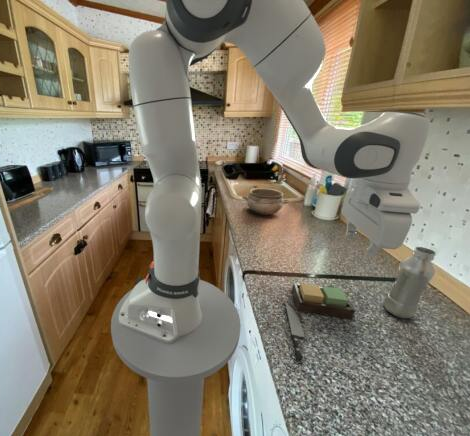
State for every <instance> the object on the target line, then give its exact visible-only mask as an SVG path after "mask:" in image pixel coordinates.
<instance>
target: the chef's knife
mask: <svg viewBox="0 0 470 436" xmlns="http://www.w3.org/2000/svg"><path fill="white" fill-rule="evenodd" d="M284 302H285V309H286V314H287V318H288V324H289V329H290V332H291V336H292V341H293V345H294V349H295V355H296V358H297V359H298V361H302V360H303V358H304V357H303V355H302V352H301V350H300V346H299V340H298V338H306V336H305V333H304V330H303V327H302V323H301V320H300V318H299V316H298V314H297V313H296V312H295V310H294V309H293V307H292V306H291V305H290V304H288V303H287V302H286V301H284Z"/></svg>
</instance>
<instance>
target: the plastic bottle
mask: <svg viewBox="0 0 470 436" xmlns="http://www.w3.org/2000/svg"><path fill="white" fill-rule="evenodd" d="M436 253H437V252H436V251H434V250H432V249H430V248H428V247H422V246H416V247H415V248H414V250H413V252H412V253H411V256H408V257H406V258H404V259H403V260H402V261H400V263H399V266H398V271H397V275H396V279H395V282H394V284H393V286H392V288H391V289H390V291H389V293H388V294H387V295H386V296H385V298H384V300H383V306H384V308H385V310H386V311H387V312H388V313H390V314H391V315H393V316H395V317H397V318H401V319H411V318H413V317H414V316H415V314H416V313H417V312H418V311H417V310H418V306H419V305H418V304H419V301H420V298H421V295H422V293H423V291H424V290H425V288H426V287H427V285H428V284H429V283H430V282H431V280H432V279H433V277H434V276H435V274H436V269H435V267H434V265H433V263H432V262H433V261H434V259H435V256H436Z"/></svg>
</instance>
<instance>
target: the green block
mask: <svg viewBox="0 0 470 436" xmlns="http://www.w3.org/2000/svg"><path fill="white" fill-rule="evenodd" d="M321 287H322V290H321V292H322V294H323V296H324V299H323V302H322V304H327V305H334V306H341V307H346V306H347V303H348V299H349V298H348V296H347V295H346V293H345V292H343V291H344V290H343V289H342V288H340V287H332V286H325V285H322V286H321ZM342 290H343V291H342ZM344 293H345V294H344ZM345 295H346V296H347V297H346V296H345ZM347 298H348V299H347Z"/></svg>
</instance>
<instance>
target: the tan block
mask: <svg viewBox="0 0 470 436" xmlns="http://www.w3.org/2000/svg"><path fill="white" fill-rule="evenodd" d="M299 284H300V287H299V292H300V295H301V298H302V300H303V301H307V302H314V303H320V304H322V302H323V299H324V296H323V294H322V292H321V290H320V288H319V287H320V286H319V285H317V284H308V283H302V282H301V283H299Z"/></svg>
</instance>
